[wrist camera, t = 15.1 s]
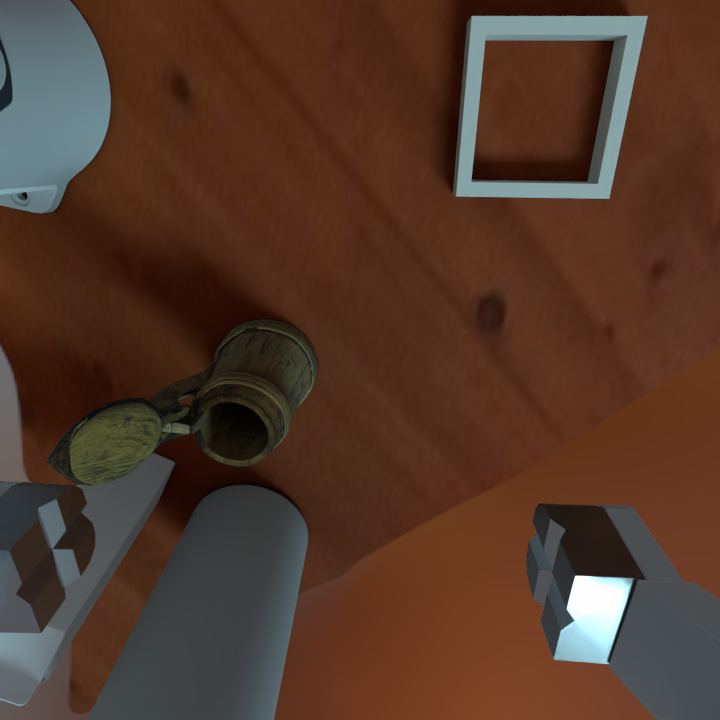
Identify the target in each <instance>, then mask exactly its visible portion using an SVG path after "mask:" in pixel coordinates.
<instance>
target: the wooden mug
mask: <svg viewBox="0 0 720 720" xmlns="http://www.w3.org/2000/svg"><path fill="white" fill-rule="evenodd" d="M317 373H318V361H317V356H316V353H315V350H314V348H313V346H312V344H311V343H310V341H309V340H308V339H307V337H306V336H305V335H304V334H303V333H302V332H300V331H299V330H298V329H297V328H296V327H294V326H292V325H289V324H287V323H285V322H281V321H276V320H271V319H258V320H253V321H248V322H244V323H243V324H241V325H239V326H237V327H235V328H233V329H232V330H231V331H230V332H229V333H228V335H227V336H226V337H225V338H224V339H223V341H222V342H221V344H220V345H219V347H218V349H217V350H216V353H215V357H214V362H213V364H212V365H210V366H209V367H208V368H207V369H206V370H205V371H203V372H201V373H198V374H196V375H194V376H191V377H189V378H186V379H184V380H181V381H178V382H176V383H174V384H172V385H169V386H167V387H165V388H163V389H162V390H161V391H159V392H158V393H156V394H155V395H154V396H153V397H152V398H151V400H150V401H147V400H145V399H143V398H134V399H123V400H118V401H114V402H111V403H108V404H106V405H103V406H101V407H98V408H96V409H95V410H93V411H91V412H90V413H88V414H87V415H85V416H84V417H83V418H81V419H80V420H79V421H78V422H76V423H75V424H74V425H73V426H72V427H71V428H70V429H69V430H68V431H67V432H65V433H64V435H63V436H62V438H61V439H60V441H59V442H58V443H57V445H56V446H55V448H54V449H53V450H52V452H51V453H50V455H49V456H48V461H47V462H48V463H49V464H50V465H51V466H52V467H53V468H54V469H55V470H56V471H58V472H59V473H60V474H62V475H63V476H65V477H66V478H68V479H69V480H71V481H73V482H76V483H78V484H81V485H88V486H93V485H99V484H104V483H109V482H111V481H114V480H116V479H118V478H121V477H123V476H125V475H127V474H129V473H131V472H133V471H134V470H135V469H137V468H138V467H139V466H141V465H142V464H143V463H144V462H145V461H146V460H147V459H148V458H149V456H150V455H151V454H152V453H153V452H154V451H155V450H156V449H157V448H158V446H159V445H160V444H161V443H162V442H165V441H168V440H170V439H173V438H176V437H180V436H185V435H186V434H194V433H195V436H196V439H197V441H198V443H199V445H200V447H201V448H202V450H203V451H204V452H205V453H206V455H208V456H210V457H211V458H213V459H214V460H216V461H218V462H221V463H223V464H228V465H232V466H251V465H253V464H256V463H258V462H259V461H261V460H262V459H264V458H266V457H267V456H268V455H269V454H270V453H271V452H272V451H273V449H275V448H276V446H277V445H278V444H279V443H280V442H281V441H282V440H283V439H284V437H285V436H286V435H287V432H288V430H289V427H290V425H291V417H292V415H293V414H294V412H295V410H296V409H297V407H298V406H299V405H300V404H301V403H302V402H303V401H304V399H305V398H306V397H307V396H308V394H309V393H310V391H311V389H312V387H313V386H314V384H315V382H316V378H317ZM187 397H194V399H193V400H192V402H191V405H192V407H190V405H184V404H180V403H178V401H179V400H181V399H184V398H187Z"/></svg>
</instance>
